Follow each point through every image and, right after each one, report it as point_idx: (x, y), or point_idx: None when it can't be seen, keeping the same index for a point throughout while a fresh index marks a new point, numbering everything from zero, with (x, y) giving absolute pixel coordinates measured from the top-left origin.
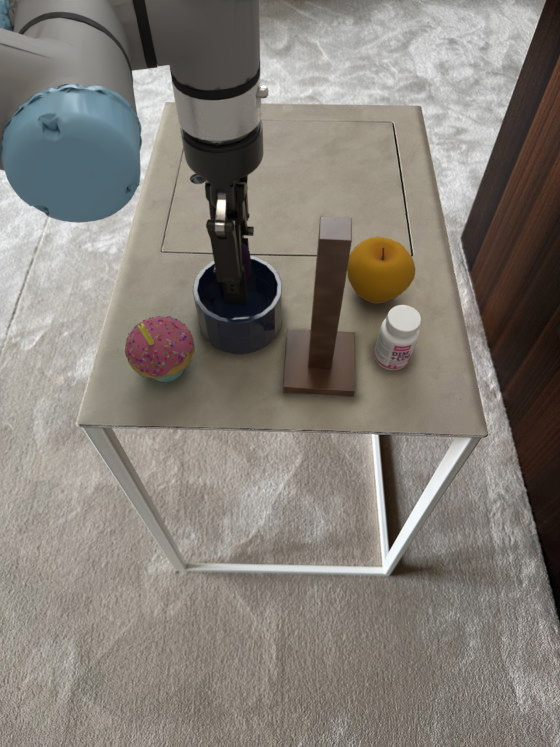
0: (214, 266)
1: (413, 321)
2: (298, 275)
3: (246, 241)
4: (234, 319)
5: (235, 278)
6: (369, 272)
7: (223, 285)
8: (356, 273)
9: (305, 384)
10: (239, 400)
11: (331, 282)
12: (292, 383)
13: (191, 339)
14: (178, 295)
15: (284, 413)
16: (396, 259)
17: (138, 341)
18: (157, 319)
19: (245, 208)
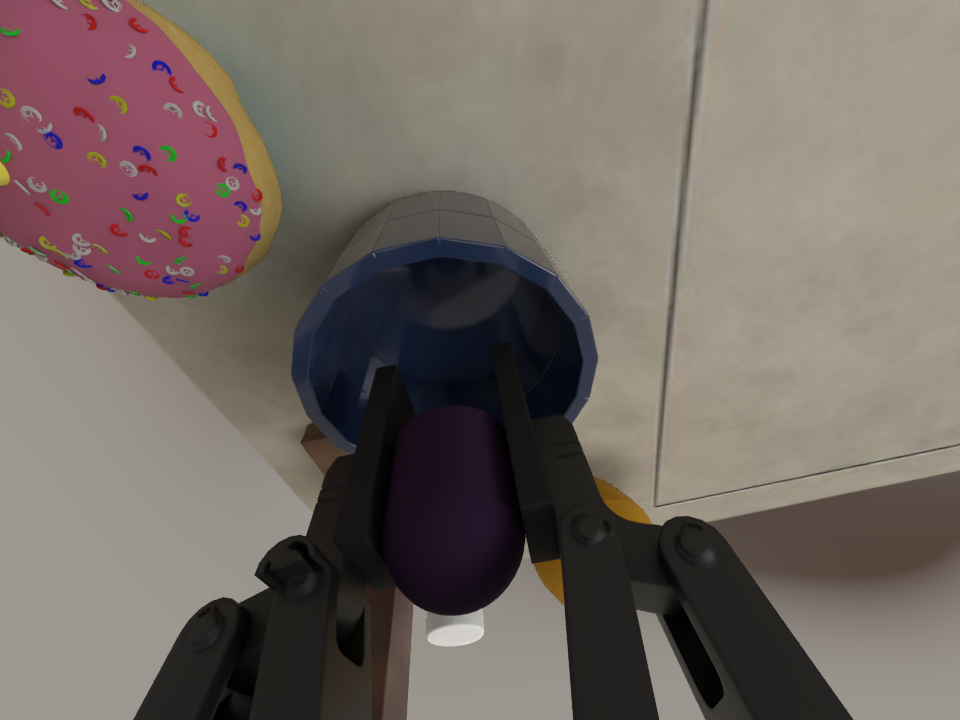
0: (301, 557)
1: (452, 642)
2: (605, 378)
3: (537, 560)
4: (324, 415)
5: (224, 697)
6: (559, 578)
7: (358, 444)
8: None
9: (327, 468)
10: (239, 364)
11: None
12: (317, 452)
13: (211, 287)
14: (488, 69)
15: (268, 436)
16: None
17: None
18: (150, 132)
19: (693, 688)
